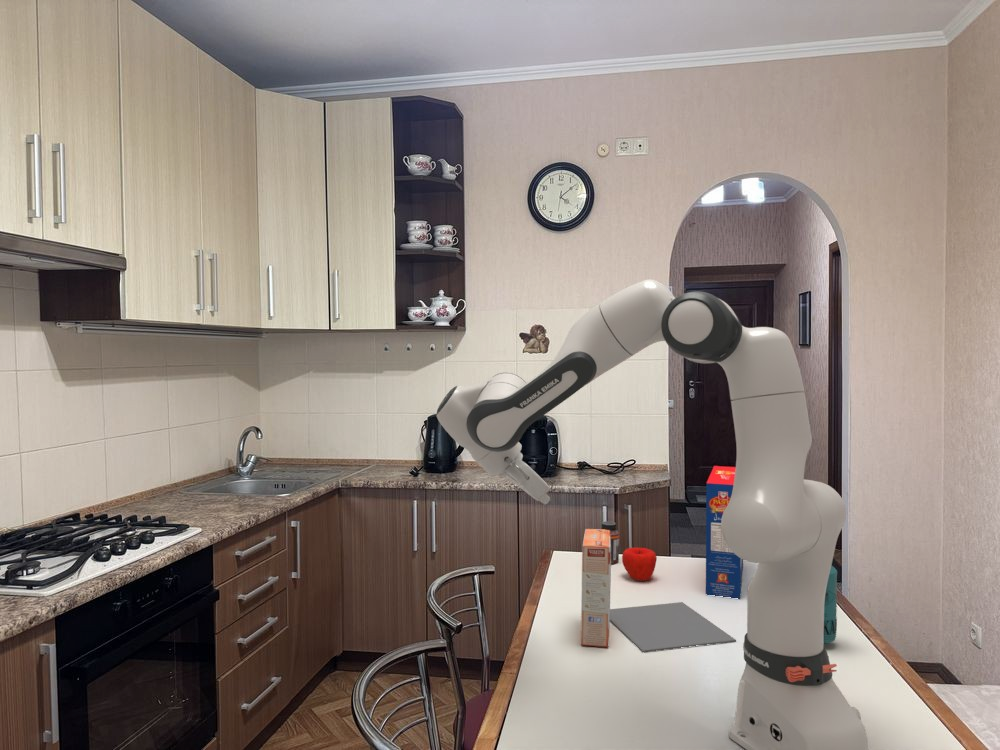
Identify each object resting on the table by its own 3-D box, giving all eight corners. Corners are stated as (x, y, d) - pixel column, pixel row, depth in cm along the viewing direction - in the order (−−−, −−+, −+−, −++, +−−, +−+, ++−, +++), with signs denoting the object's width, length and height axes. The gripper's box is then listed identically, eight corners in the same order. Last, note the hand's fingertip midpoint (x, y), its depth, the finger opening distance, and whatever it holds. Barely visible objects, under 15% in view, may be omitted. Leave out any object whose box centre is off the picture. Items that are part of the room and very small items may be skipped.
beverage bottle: (798, 636, 141) (799, 541, 140) (832, 638, 139) (833, 543, 139) (805, 649, 134) (806, 550, 134) (841, 652, 133) (842, 552, 132)
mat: (736, 641, 138) (736, 639, 138) (642, 652, 133) (642, 650, 133) (682, 603, 159) (682, 602, 159) (600, 611, 154) (600, 610, 154)
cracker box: (610, 648, 135) (610, 546, 134) (580, 646, 136) (580, 544, 135) (610, 621, 148) (611, 528, 148) (583, 620, 149) (583, 527, 149)
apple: (615, 578, 177) (615, 549, 177) (635, 571, 183) (635, 543, 183) (643, 587, 171) (643, 556, 171) (663, 579, 177) (663, 550, 177)
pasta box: (713, 562, 191) (714, 466, 190) (743, 566, 188) (743, 467, 187) (705, 595, 165) (706, 483, 164) (740, 599, 162) (740, 485, 161)
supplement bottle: (594, 562, 191) (594, 523, 191) (603, 557, 196) (603, 519, 196) (613, 566, 188) (613, 526, 188) (622, 560, 193) (622, 522, 193)
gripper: (525, 450, 123) (574, 500, 126) (499, 436, 143) (542, 479, 146) (501, 475, 123) (551, 525, 125) (478, 457, 142) (522, 500, 145)
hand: (546, 500), depth 136 cm, fingers closed
